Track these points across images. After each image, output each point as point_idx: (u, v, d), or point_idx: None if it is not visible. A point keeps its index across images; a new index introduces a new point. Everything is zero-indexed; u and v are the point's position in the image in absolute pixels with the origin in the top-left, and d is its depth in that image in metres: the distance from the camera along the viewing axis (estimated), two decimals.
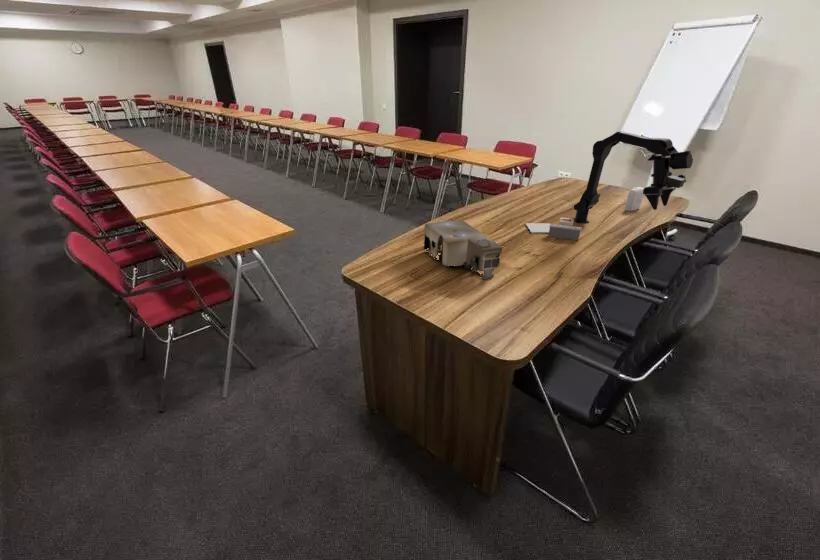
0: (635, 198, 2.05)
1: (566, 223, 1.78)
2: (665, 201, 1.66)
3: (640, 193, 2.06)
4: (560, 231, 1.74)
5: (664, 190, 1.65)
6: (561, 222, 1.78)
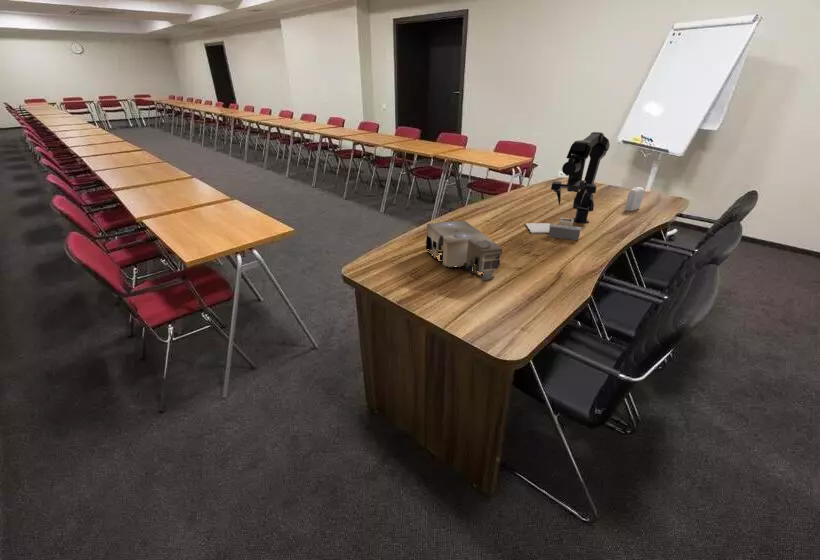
0: (635, 198, 2.05)
1: (566, 223, 1.78)
2: (581, 202, 1.74)
3: (640, 193, 2.06)
4: (560, 231, 1.74)
5: (584, 192, 1.72)
6: (561, 222, 1.78)
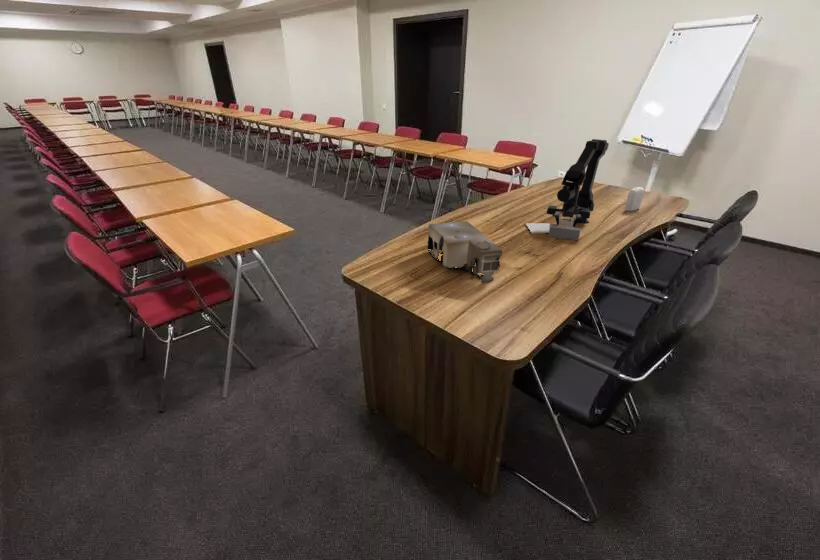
0: (635, 198, 2.05)
1: (566, 223, 1.77)
2: None
3: (640, 193, 2.06)
4: (560, 231, 1.74)
5: (576, 216, 1.78)
6: (561, 222, 1.78)
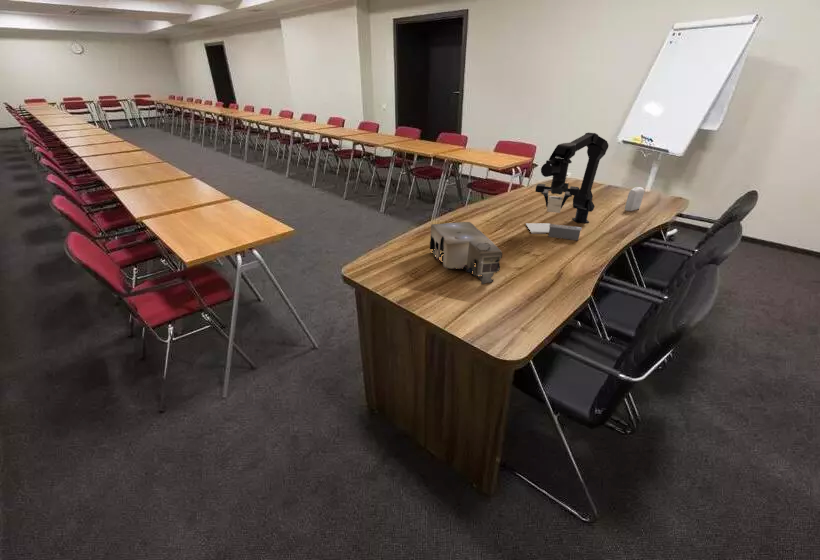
0: (635, 198, 2.05)
1: (555, 201, 1.75)
2: None
3: (640, 193, 2.06)
4: (560, 231, 1.74)
5: None
6: (550, 200, 1.75)
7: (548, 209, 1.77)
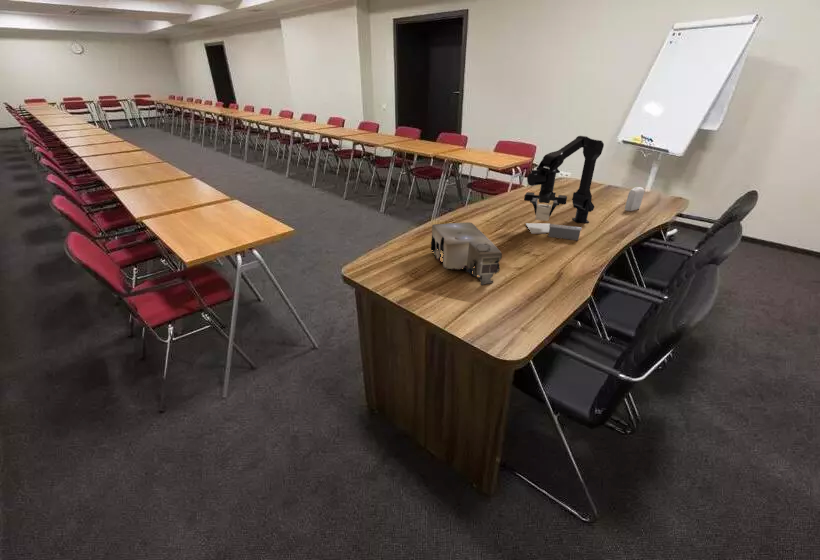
0: (635, 198, 2.05)
1: (543, 209, 1.78)
2: None
3: (640, 193, 2.06)
4: (560, 231, 1.74)
5: (553, 202, 1.79)
6: (538, 208, 1.79)
7: (536, 217, 1.81)
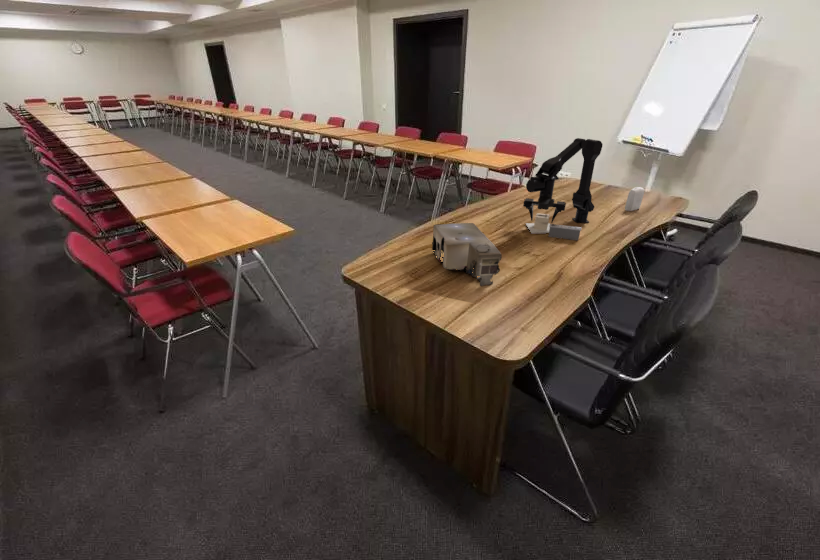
0: (635, 198, 2.05)
1: (542, 219, 1.81)
2: None
3: (640, 193, 2.06)
4: (560, 231, 1.74)
5: (555, 209, 1.80)
6: (537, 218, 1.81)
7: (535, 226, 1.83)
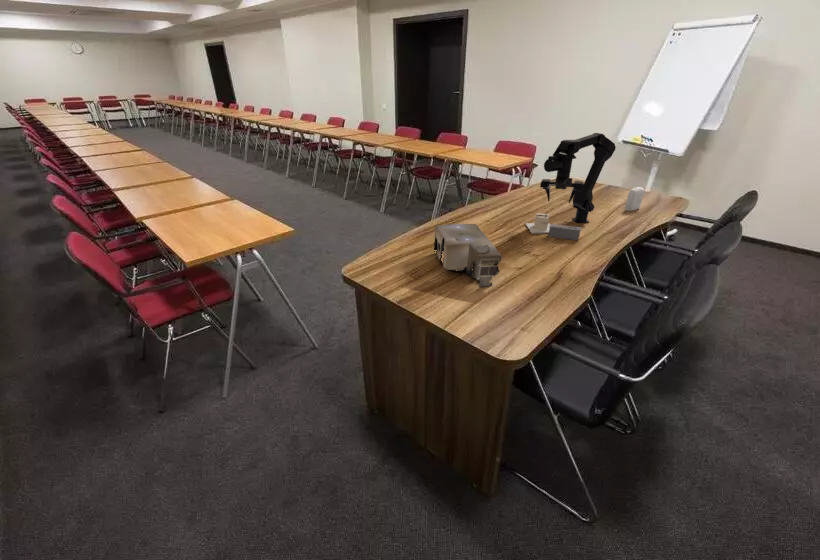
0: (635, 198, 2.05)
1: (542, 219, 1.81)
2: (569, 199, 1.81)
3: (640, 193, 2.06)
4: (560, 231, 1.74)
5: (572, 189, 1.79)
6: (537, 218, 1.81)
7: (535, 226, 1.83)
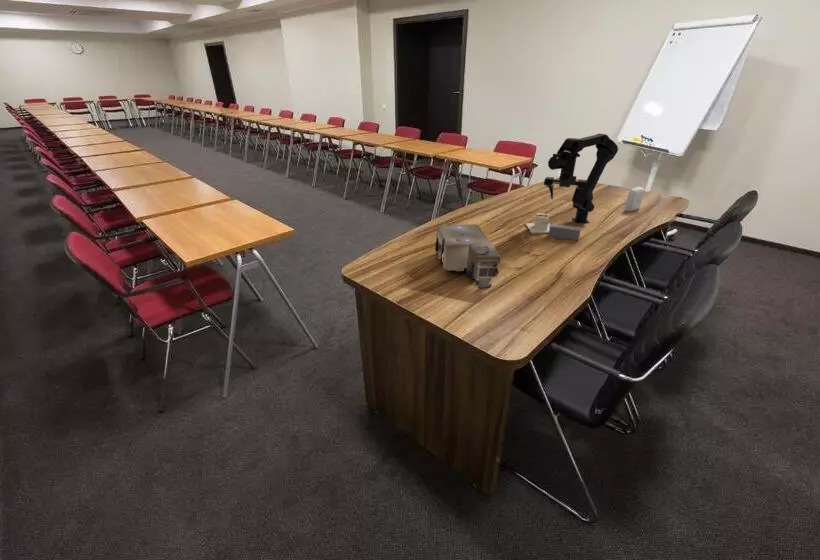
0: (635, 198, 2.05)
1: (542, 219, 1.81)
2: None
3: (640, 193, 2.06)
4: (560, 231, 1.74)
5: (576, 187, 1.79)
6: (537, 218, 1.81)
7: (535, 226, 1.83)
